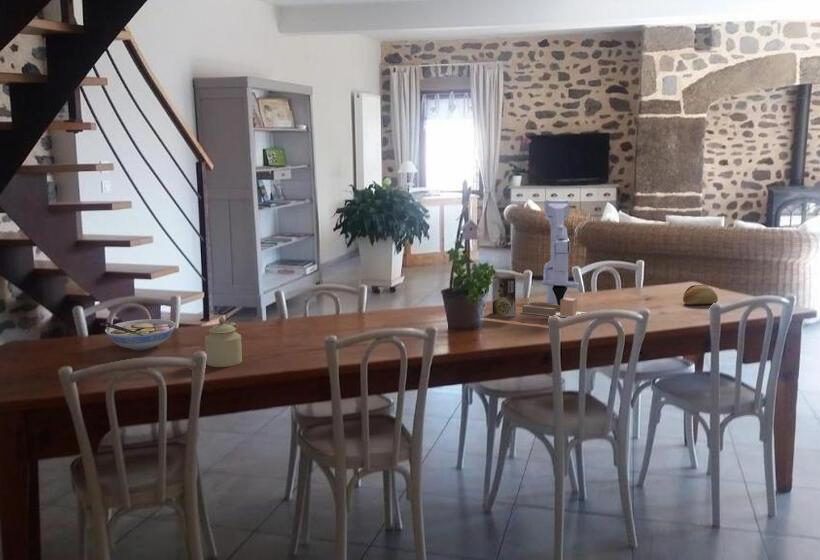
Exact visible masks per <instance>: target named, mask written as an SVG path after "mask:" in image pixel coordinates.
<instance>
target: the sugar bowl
mask: <svg viewBox="0 0 820 560" xmlns="http://www.w3.org/2000/svg"><path fill="white" fill-rule="evenodd" d="M218 322H219V324H217V325H214V326H212V327H211V328H210V329H208V332H209V334H208V335H206V336H205V338H204V346H205V355H206V354H207V361H206V365H207V366H209V367H212V368H227V367H233V366H238V365H239V364H241V363H242V362H243V352H242V351H243V350H242V347H243V346H242V335H241V334H240V333H238V332H239V331H238V325H237V323H235V322H229V323H228V324H226V323H225V322H226V318H224V316H222V315H221V316H220V317H219V319H218Z"/></svg>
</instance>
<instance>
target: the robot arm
mask: <svg viewBox="0 0 820 560" xmlns="http://www.w3.org/2000/svg"><path fill="white" fill-rule="evenodd" d="M570 203H571V202H570V199H568V198H567V199H547V198H545V201H544V218H545V220H546V221H548V222H549V224H550V260H549V261H547V262H545V264H544V266H543V279H542V280H541V286H546V299H545V300H546V301H545V303H553V304H558V305H560V300H561V299H563V298H567V291H568V289H569V288H572V289H579V288H580V283H579V282H574V281H569V255H570V254H571V253H570V252H571V243H570V239H569V237H568V228H567V227H566V226H565V225H564V224H565V221H567V220H568V218H569V213H570V210H571V209H570V208H571V205H570Z"/></svg>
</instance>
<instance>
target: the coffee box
mask: <svg viewBox="0 0 820 560" xmlns="http://www.w3.org/2000/svg"><path fill="white" fill-rule="evenodd" d="M493 275H494V274H493ZM516 280H517V279H516V276H515V275H514V274H513V275H510V274H506V275H505V274H504V275H503V274H502V275H501V274H498V275H496V274H495V275H494V278H493V283H492V282H491V283H492V284H491V290H492V291H491V293H492V294H491V297H492V298H491V299H492V300H491V304H492V305H491V307H492V310H491V312H492V313H491V314H492V317H516V310H517V309H516V305H517V304H516Z"/></svg>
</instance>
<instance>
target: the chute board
mask: <svg viewBox="0 0 820 560" xmlns="http://www.w3.org/2000/svg"><path fill="white" fill-rule="evenodd" d="M521 310H522V312H521V314H529V315H539V316H548V317H551V316H550V315H557V316H560V317H559V318H563V317H568V316H567V315H560V305H558V304H553V303H546V302H542V301H530V302H529V304H524V305H522V309H521ZM581 313H586V312H583V311H576V314H575V315H577V314H581Z"/></svg>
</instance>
